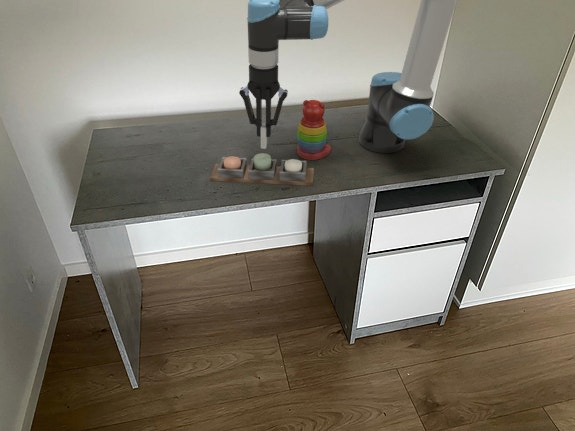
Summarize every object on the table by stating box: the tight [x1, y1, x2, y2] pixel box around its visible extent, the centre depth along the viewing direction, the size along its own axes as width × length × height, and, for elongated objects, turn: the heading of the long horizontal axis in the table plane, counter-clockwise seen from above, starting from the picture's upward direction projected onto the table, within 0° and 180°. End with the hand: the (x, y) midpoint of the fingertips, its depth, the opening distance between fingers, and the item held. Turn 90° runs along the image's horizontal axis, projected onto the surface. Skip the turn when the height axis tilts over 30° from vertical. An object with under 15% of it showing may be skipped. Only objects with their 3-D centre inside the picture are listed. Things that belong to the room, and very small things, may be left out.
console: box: [210, 156, 315, 187], centre depth 139 cm, size 30×8×4 cm, turn 86°
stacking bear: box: [296, 99, 332, 161], centre depth 145 cm, size 11×10×18 cm
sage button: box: [253, 152, 272, 171], centre depth 137 cm, size 5×5×3 cm
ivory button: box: [285, 158, 302, 173], centre depth 137 cm, size 5×5×3 cm
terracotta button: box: [224, 155, 241, 170], centre depth 138 cm, size 5×5×3 cm
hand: (263, 146), depth 133 cm, fingers closed
